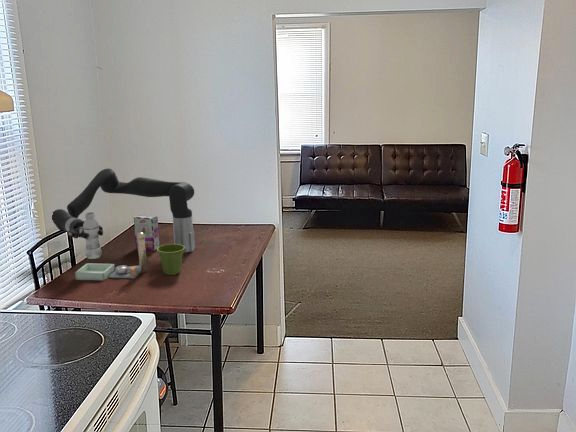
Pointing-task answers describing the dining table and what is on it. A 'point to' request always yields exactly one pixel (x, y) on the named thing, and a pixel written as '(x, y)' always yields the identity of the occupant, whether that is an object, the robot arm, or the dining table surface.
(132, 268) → the stop block
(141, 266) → the beige silver l-shaped piece
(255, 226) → the dining table surface
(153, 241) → the candy bar box
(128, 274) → the base
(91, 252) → the plastic bottle
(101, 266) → the tray
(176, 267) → the plant pot
